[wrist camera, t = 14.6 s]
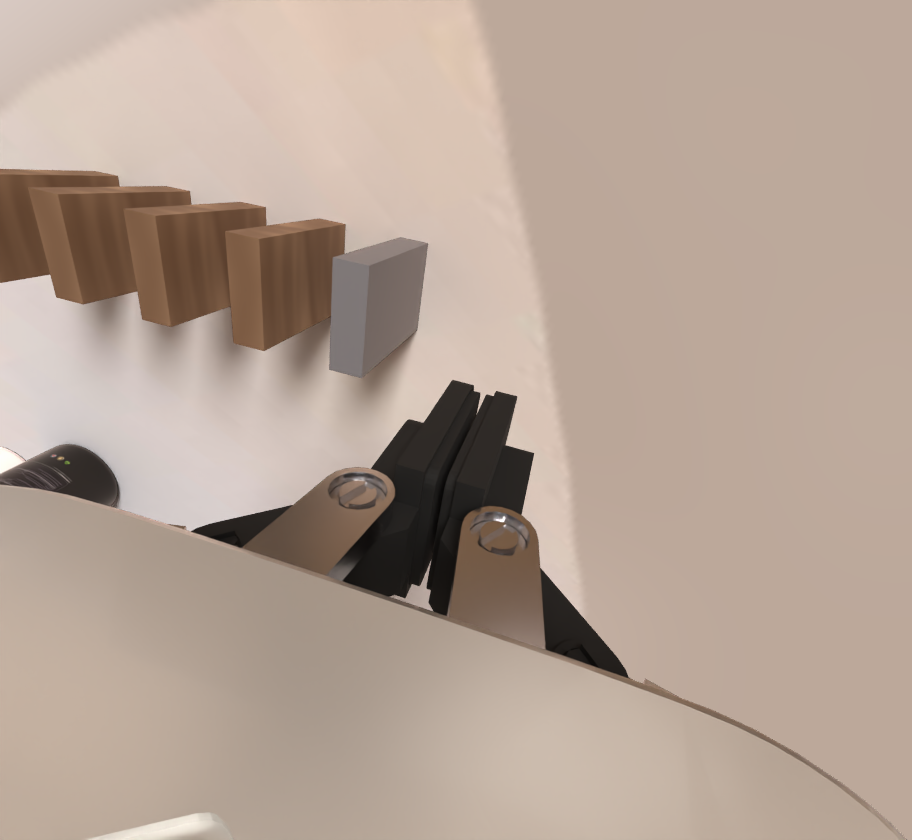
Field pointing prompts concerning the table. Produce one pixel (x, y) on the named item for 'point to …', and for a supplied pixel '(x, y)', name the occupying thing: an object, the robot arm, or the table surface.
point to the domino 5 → (374, 303)
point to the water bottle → (9, 459)
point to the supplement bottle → (66, 474)
